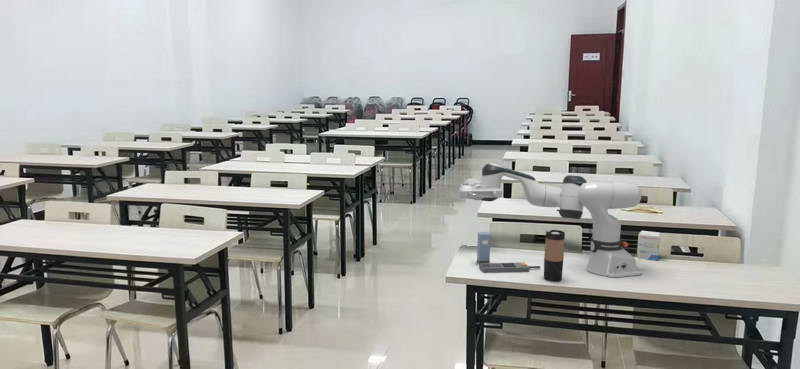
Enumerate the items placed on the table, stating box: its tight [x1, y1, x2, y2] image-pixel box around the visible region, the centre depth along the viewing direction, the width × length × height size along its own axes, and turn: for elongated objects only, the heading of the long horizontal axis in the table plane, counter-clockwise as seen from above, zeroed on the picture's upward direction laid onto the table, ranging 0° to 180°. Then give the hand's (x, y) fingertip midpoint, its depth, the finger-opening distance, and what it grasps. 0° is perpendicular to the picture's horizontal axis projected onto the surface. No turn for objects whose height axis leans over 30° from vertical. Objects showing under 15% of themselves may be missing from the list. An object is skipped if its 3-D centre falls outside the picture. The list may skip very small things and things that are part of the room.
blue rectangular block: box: [476, 231, 492, 265], centre depth 261 cm, size 5×5×14 cm
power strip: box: [478, 261, 541, 274], centre depth 255 cm, size 26×7×2 cm, turn 96°
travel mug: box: [543, 229, 566, 283], centre depth 242 cm, size 8×8×20 cm
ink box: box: [638, 230, 661, 261], centre depth 274 cm, size 9×8×12 cm
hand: (484, 196), depth 269 cm, fingers open, 8 cm apart
